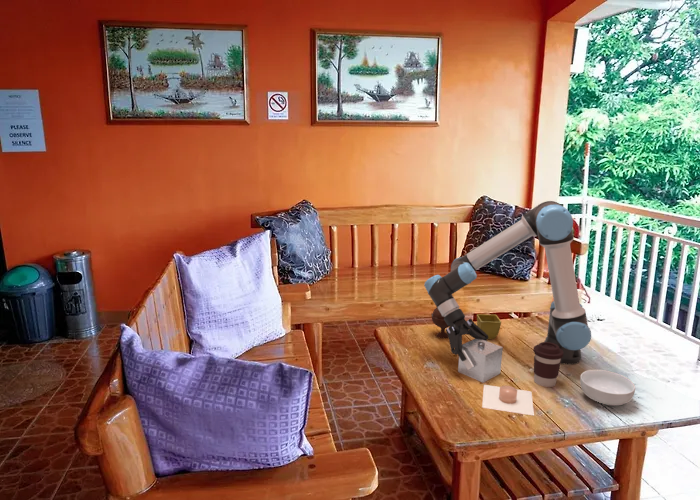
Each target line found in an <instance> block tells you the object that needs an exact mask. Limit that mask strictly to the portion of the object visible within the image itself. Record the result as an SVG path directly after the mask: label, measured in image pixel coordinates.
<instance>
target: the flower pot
mask: <svg viewBox="0 0 700 500" xmlns="http://www.w3.org/2000/svg"><path fill="white" fill-rule="evenodd" d="M476 325H477V326H478V327H479V328H480V329H481V330H482V331H484V332H485V333H486V334H487V335H488V339H487V340H495V339H496V338H497V336H498V335H499V332H500V331H501V325H502V321H501V319H500V318H499V316H498V315H497V314H484V313H483V314H481V313H480V314H479V313H478V314H476Z"/></svg>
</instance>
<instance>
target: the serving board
mask: <svg viewBox="0 0 700 500" xmlns="http://www.w3.org/2000/svg"><path fill="white" fill-rule="evenodd" d="M500 387H501V386H496V385H489V384H483V392H482V403H481V405H482V406H481V408H483V409H490V410H495V411H496V410H497V411H502V412H508V413H509V412H510V413H514V414H522V415H526V416H528V415H529V416H535V412H534V403H533V394H532V393H533V392H532V391H529V390H524V389H517V388H516V389H517V399H516V402H515V403H512V404H509V403H504V402H502V401H500V399H499V392H500Z"/></svg>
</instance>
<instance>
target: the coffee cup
mask: <svg viewBox="0 0 700 500" xmlns="http://www.w3.org/2000/svg"><path fill="white" fill-rule="evenodd" d="M532 353H534V357H533V374H534V375H533V381H534V383H535V384H537V385H539V386H541V387H544V388H545V387H547V388H553V387H555V386H556V384H557V379H558V378H559V377H558V376H559V372H560V368H561V367H560V366H561V365H562V364H561V358H562V357H563V353H564V352H563V350H562V349H560V348H559V346H558V345H556V344H554V343H550V342H544V341H541V342H539V343H538V344H535V346H533V352H532Z"/></svg>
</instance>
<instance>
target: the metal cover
mask: <svg viewBox="0 0 700 500" xmlns="http://www.w3.org/2000/svg"><path fill="white" fill-rule="evenodd" d="M503 349H504V347H503V346H501V345H497V344H495V343H492V342H490V341H488V340H487V341H485V340H482V339H479V338H476V339H475V338H473V339H472V340H469V341H467V342H465V343H462V351H464V350H465V352H466V354H467V355H468V357H469V359H470V360H471V362H472V364H473V365H474V367H472V368H470V369H469V370H468V369H467V367H466V366H465V364H464V362H463V361H462V360H461V359H460V357H459V356H458V367H457V372H458V373H459V374H461V375H465V376H467V377H469V378H471V379H474V380H476V381H478V382H481V383H482V384H483V383H486V382H487V381H489V380H491V379H492V378H495V377H496V376H497V377H498V376H499V375H500V374H501V370H502V369H501V368H502V358H503Z"/></svg>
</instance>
